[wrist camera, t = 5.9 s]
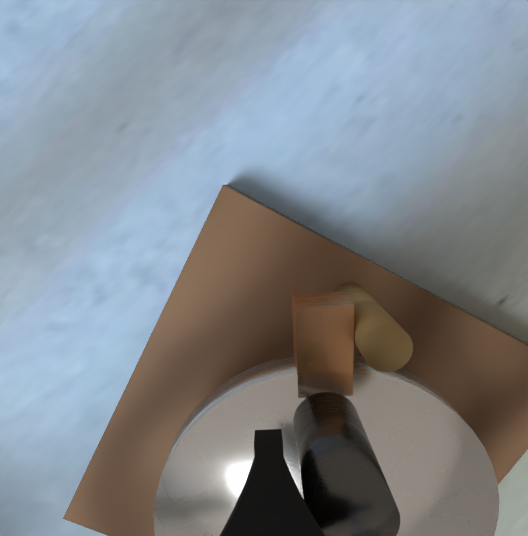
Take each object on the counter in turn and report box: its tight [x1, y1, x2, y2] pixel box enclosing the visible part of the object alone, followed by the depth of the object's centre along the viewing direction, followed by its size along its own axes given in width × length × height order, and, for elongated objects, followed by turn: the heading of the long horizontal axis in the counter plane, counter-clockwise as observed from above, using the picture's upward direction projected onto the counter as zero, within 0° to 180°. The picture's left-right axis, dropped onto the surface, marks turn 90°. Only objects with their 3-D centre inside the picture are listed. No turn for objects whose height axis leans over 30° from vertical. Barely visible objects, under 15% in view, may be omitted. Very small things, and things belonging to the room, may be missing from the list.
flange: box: [153, 292, 499, 536], centre depth 12 cm, size 16×14×6 cm
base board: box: [63, 185, 528, 536], centre depth 16 cm, size 20×20×6 cm
